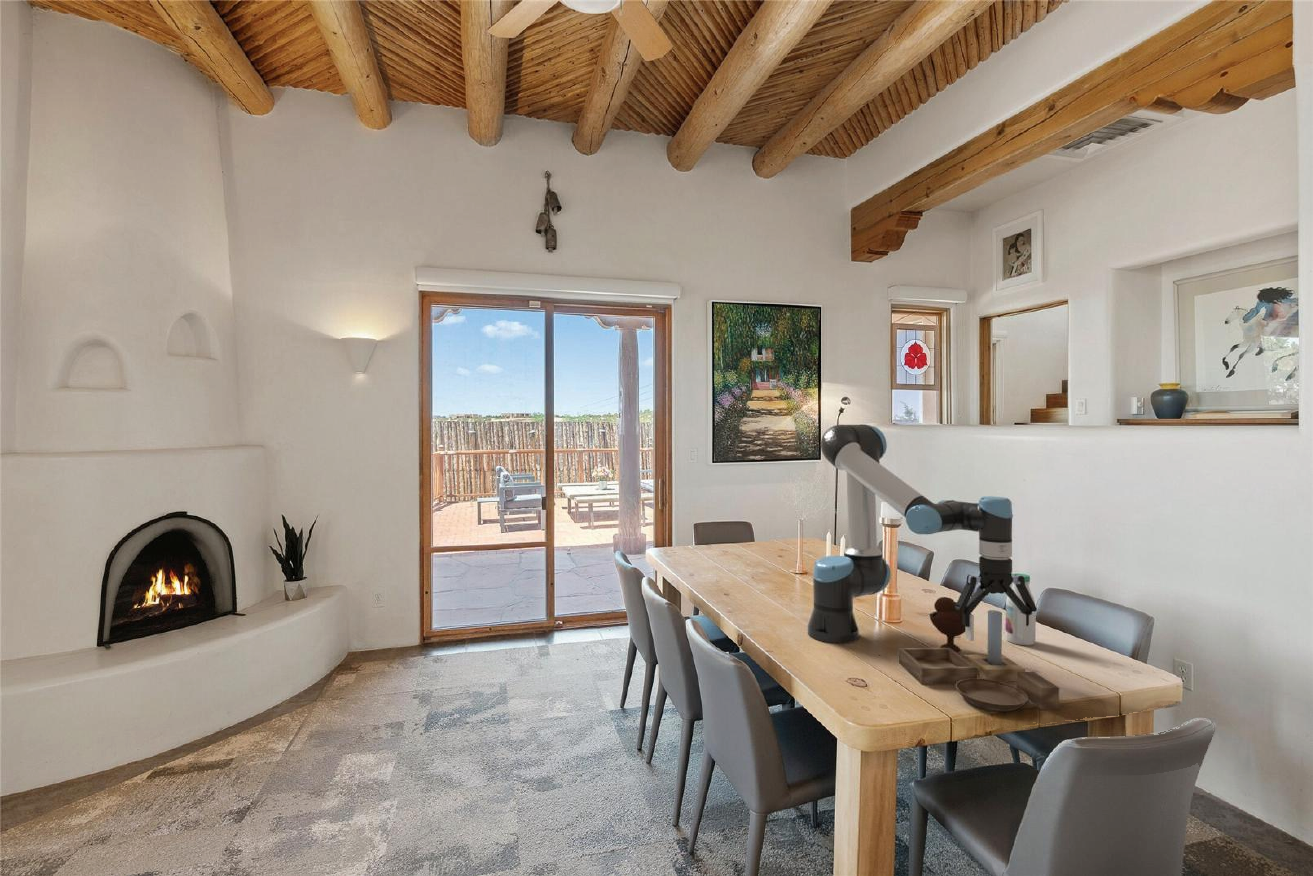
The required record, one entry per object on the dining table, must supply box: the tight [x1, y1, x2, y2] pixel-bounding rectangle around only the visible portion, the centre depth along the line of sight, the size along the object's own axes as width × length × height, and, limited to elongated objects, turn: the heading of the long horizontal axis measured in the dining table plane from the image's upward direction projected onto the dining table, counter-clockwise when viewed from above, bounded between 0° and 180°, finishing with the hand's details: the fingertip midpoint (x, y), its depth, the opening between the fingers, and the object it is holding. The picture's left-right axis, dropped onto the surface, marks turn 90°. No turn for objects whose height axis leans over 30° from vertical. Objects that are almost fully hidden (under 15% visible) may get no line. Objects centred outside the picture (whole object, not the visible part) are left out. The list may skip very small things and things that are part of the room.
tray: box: [898, 647, 978, 685], centre depth 160 cm, size 14×14×4 cm
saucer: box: [955, 678, 1028, 712], centre depth 144 cm, size 15×15×3 cm
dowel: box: [987, 609, 1003, 665], centre depth 160 cm, size 3×3×16 cm
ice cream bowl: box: [929, 596, 965, 654], centre depth 177 cm, size 11×11×15 cm
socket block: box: [964, 654, 1026, 682], centre depth 160 cm, size 10×10×3 cm
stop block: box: [1016, 671, 1060, 711], centre depth 144 cm, size 4×9×5 cm, turn 1°
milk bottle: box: [1004, 572, 1037, 646], centre depth 183 cm, size 8×8×20 cm
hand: (995, 638), depth 160 cm, fingers open, 13 cm apart
